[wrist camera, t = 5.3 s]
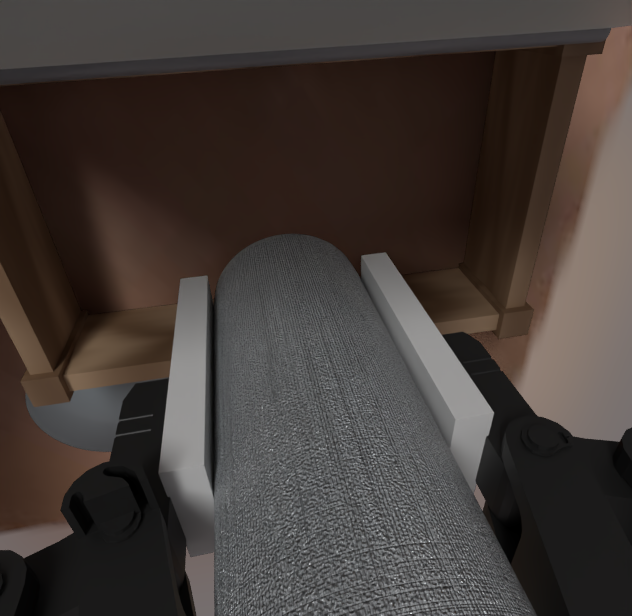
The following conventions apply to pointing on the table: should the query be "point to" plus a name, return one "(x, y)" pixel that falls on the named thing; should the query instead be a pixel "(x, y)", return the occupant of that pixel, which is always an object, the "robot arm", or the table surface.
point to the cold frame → (429, 287)
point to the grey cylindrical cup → (334, 457)
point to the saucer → (84, 417)
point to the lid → (274, 32)
